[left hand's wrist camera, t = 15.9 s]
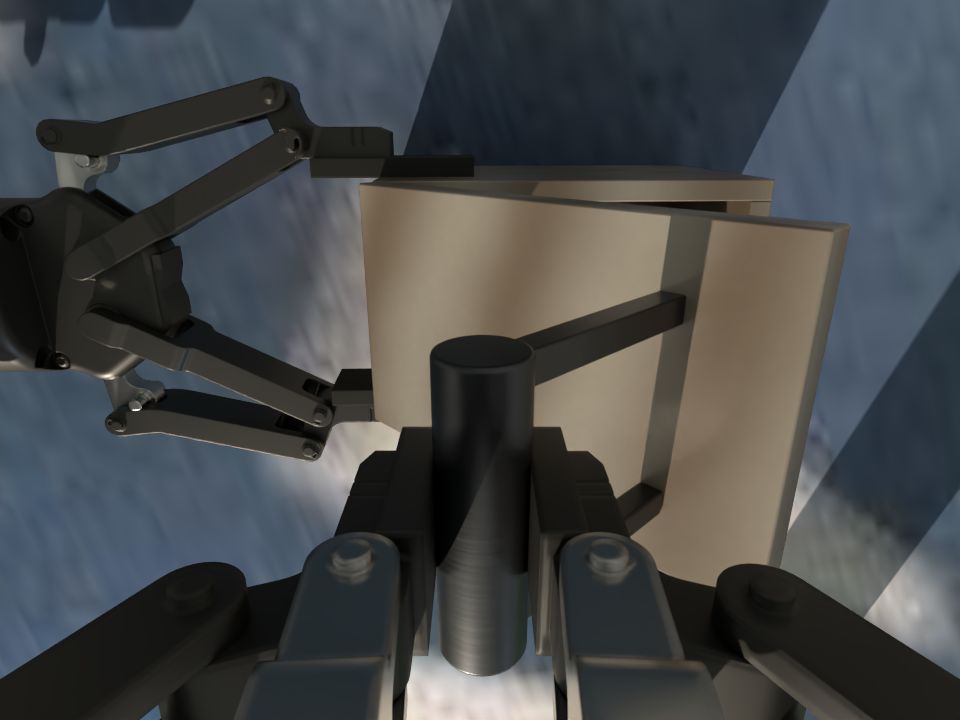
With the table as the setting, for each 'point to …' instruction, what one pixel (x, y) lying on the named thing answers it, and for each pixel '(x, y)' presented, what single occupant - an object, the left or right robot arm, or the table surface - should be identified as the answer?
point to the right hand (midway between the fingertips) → (473, 282)
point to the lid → (594, 376)
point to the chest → (620, 185)
